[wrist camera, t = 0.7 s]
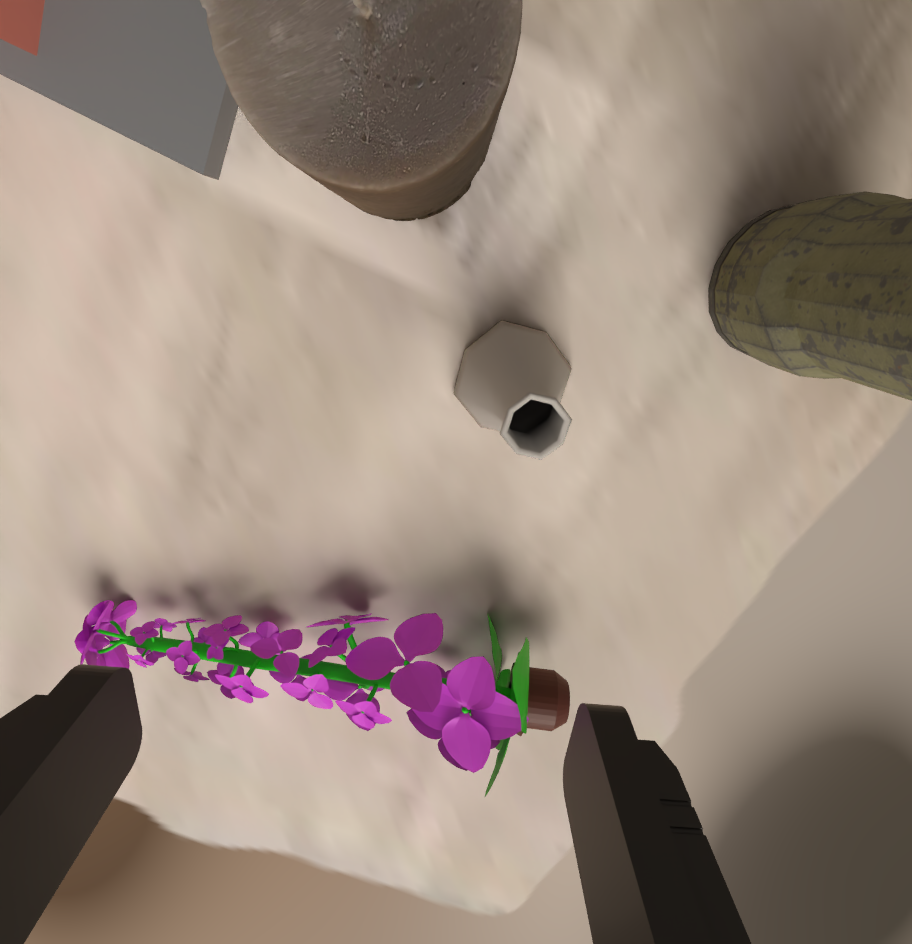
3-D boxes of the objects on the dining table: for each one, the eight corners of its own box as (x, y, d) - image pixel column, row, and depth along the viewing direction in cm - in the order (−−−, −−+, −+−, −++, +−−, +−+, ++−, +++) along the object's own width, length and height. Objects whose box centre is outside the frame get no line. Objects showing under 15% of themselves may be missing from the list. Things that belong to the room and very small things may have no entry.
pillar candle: (487, 222, 30) (523, 190, 16) (316, 219, 30) (206, 185, 16) (494, 10, 27) (547, -263, 13) (300, 5, 26) (139, -277, 13)
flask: (497, 298, 32) (517, 316, 23) (590, 363, 34) (645, 404, 24) (434, 396, 34) (429, 449, 25) (524, 453, 36) (551, 522, 27)
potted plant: (544, 656, 48) (166, 609, 49) (591, 575, 35) (72, 512, 35) (543, 817, 40) (97, 759, 41) (602, 792, 27) (-55, 706, 28)
